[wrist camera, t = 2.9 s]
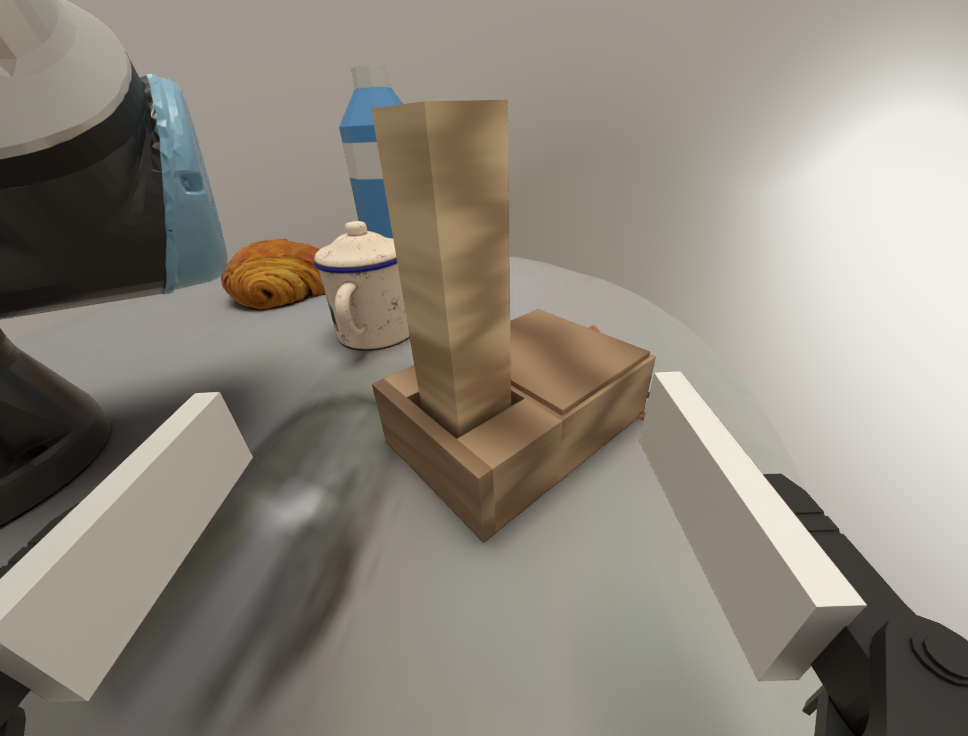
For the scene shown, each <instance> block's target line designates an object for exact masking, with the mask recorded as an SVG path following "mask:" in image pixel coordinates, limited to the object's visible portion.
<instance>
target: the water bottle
mask: <svg viewBox="0 0 968 736" xmlns="http://www.w3.org/2000/svg"><path fill="white" fill-rule="evenodd" d="M351 72H352V78H353V83H354V88H355V90H354V92H353V95H352V97H351V100H350V102H349V104H348V107H347V109H346V112H345V114H344V116H343V119H342V121H341V124H340V126H339V129H340V133H341V138H342V143H343V148H344V153H345V157H346V162H347V167H348V171H349V176H350V181H351V186H352V191H353V196H354V200H355V205H356V210H357V214H358V220H359V221H362V222H364V223H365V224H366V227H367V231H371V232H375V233H378V234H380V235H382V236H383V237H386V238H392V239H393V234H392V228H391V222H390V216H389V210H388V204H387V198H386V193H385V187H384V181H383V175H382V169H381V163H380V157H379V151H378V145H377V139H376V133H375V127H374V121H373V115H372V109H371V108H376V107H384V106H393V105H401V104H403V103H402V102H401V101H400V99H399V98H398V96H397V95H396V94H395V93H394V91H393V90H392V89H391V85H390V78H389V71H388V67H385V66H358V67H353V68H352V69H351Z"/></svg>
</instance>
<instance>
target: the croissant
mask: <svg viewBox="0 0 968 736" xmlns="http://www.w3.org/2000/svg"><path fill="white" fill-rule="evenodd" d="M319 250H320V249H318V248H315V247H313V246H311V245H308V244H303V243H295V242H291V241H288V240H287V239H276V240H269V241H261V242H256V243H252V244H251V245H249V246H247V247H244V248H242V249H241V250H240V251H239V252H238V253H237V254H236V255H235V256H234V257H233V258H232V259H231V260H230V262H229V263H228V264H227V267H226V269H225V271H224V272H223V274H222V276H221V280H222V286H223V288H224V289H225V291H226V292H227V293H228V294H230V296H231V297H232V298H233V299H234V300H236V301H237V302H238V303H239V304H241V305H244V306H247V307H253V308H258V309H270V308H272V307H276V306H282V305H285V304H288V303H293V302H294V301H301V300H303V299H305V298H313V297H316V296H320V295H322V294H323V293H324V292H325V291H324V287H323V284H322V280H321V277H320V273H319V270H318V269H317V268H316V267H315V265H314V261H315V259H314V258H315V255H316V253H317V252H318V251H319Z"/></svg>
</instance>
